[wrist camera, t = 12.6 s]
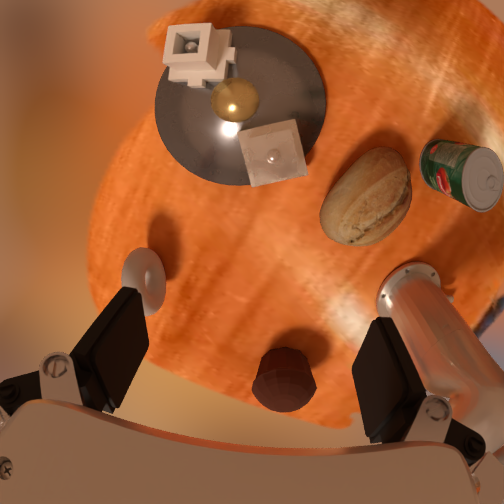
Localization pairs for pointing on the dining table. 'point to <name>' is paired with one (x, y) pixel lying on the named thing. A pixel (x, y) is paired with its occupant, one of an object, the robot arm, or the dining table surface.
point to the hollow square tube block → (198, 54)
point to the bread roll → (368, 199)
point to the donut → (145, 278)
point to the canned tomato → (463, 172)
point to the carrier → (246, 113)
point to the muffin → (284, 380)
